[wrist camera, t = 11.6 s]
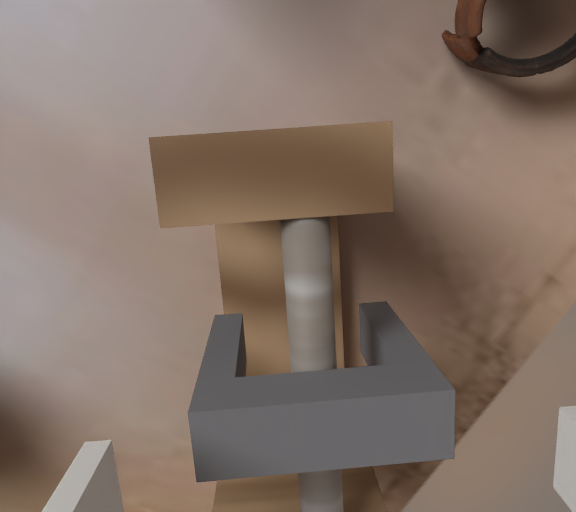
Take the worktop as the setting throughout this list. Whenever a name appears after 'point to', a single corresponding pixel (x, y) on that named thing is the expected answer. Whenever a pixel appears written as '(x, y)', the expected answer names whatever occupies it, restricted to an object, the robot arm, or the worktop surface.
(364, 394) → the u piece
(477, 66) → the brown looped piece
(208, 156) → the rack
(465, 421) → the worktop surface
